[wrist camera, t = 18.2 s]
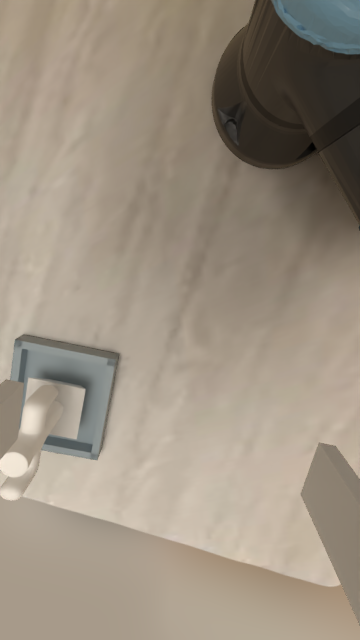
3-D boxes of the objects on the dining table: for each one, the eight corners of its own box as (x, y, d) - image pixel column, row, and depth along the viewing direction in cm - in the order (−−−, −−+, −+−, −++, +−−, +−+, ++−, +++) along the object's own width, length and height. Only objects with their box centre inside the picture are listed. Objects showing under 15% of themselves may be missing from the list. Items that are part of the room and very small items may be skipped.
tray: (23, 334, 45) (14, 339, 43) (119, 353, 46) (115, 359, 43) (11, 433, 48) (2, 443, 46) (101, 449, 49) (97, 460, 47)
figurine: (94, 370, 46) (55, 429, 31) (82, 431, 48) (41, 514, 33) (41, 359, 45) (-24, 414, 31) (32, 421, 47) (-34, 500, 33)
